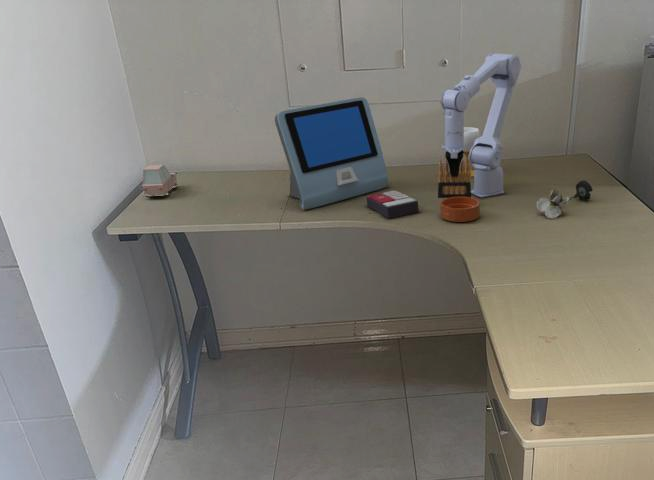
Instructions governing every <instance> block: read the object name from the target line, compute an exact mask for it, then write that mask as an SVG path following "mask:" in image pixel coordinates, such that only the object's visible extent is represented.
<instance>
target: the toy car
mask: <svg viewBox="0 0 654 480" xmlns="http://www.w3.org/2000/svg"><path fill="white" fill-rule="evenodd" d="M177 181H178V180H177V173H176V172H170V171H169V170H168V169H167V167H166V166H165V165H164V164H149V165H146V167H144V168H143V169H142V185H141V187H142V190H143V192H144V195H145V194H148V195H165V194H166V193H168V192H169V191H170V189H171V188H172V187H173V186H176V185H177V186H176V187H175V188H173V189H172V190H177V189H178V182H177ZM170 195H171V191H170V193H169V194H168V195H166V196H165V197H170Z"/></svg>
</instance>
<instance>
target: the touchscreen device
mask: <svg viewBox="0 0 654 480" xmlns="http://www.w3.org/2000/svg"><path fill="white" fill-rule="evenodd" d="M274 123H275V126H276V130H277V132H278V133H277V134H278V136H279V139H280V143H281V145H282V149H283V153H284V155H285V159H286V162H287V165H288V169H289V172H290V174H289V177H290V178H289V196H290V197H292V198H296V199H297V200H299V204H300V207H301V210H302V211H308V210H312V209H315V208H318V207H319V208H320V207H323V206H327V205H331V204H334V203H337V202H341V201H344V200H347V199H351V198H356V197H359V196H362V195H366V194H368V193H372V192H373V193H374V192H377V191H379V190H383V189H385V188H387V187H388V186H389V175H388V171H387V170H388V169H387V166H386V163H385V158H384V154H383V150H382V146H381V143H380V140H379V135H378V133H377V129H376V125H375V122H374V119H373V115H372V111H371V108H370V105H369V101H368V100H367V99H366V97H355V98H349V99H342V100H338V101H331V102H326V103H321V104H315V105H309V106H304V107H297V108H292V109H285V110H282V111H280V112H278V113H277V114H276V115H275V116H274Z"/></svg>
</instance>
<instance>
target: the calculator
mask: <svg viewBox="0 0 654 480" xmlns="http://www.w3.org/2000/svg"><path fill="white" fill-rule="evenodd" d="M366 206H367V207H368V208H370V209H372V210H374V211H376V212H378V213H380V214H381V216H383V217H384V218H386V219H393V218H397V217H402V216H406V215H412V214H415V213H419V201H418V200H417V199H415V198H412V197H410V196H409V195H407V194H404V193H402V192H400V191H398V190H390V191H385V192H382V193H376V194H370V195H368V196H367V197H366Z"/></svg>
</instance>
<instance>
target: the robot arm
mask: <svg viewBox="0 0 654 480" xmlns="http://www.w3.org/2000/svg"><path fill="white" fill-rule="evenodd" d="M520 59H521V58H520V57H519V55H517V54H516V53H515V54H510V53H509V54H508V53H496V52H490V53H489V54H488V55H487V56H485V59H484V63H483V64H482V65H481V66H480V67H479V69H478V70H477V71H476V72H475V73H474V74H472V75H470V74H469V75H464V77H463V79H462V80H461V81H459V82H458V83H457V84H456V85H454V86H453V88H452V89H447V90H445V91H444V92H443V93H442V95H441V100H440V106H441V108H442V112H443V116H444V145H441V150H445V155H444V157H445V160H447V163H448V170H449V173H450V174H451V177H454V178H455V177H458V173H459V171H460V168H461V163H462V160H463V158H464V154H463V152H464V151H463V149H464V127H465V121H464V120H465V110H467V108H468V105H469V103H470V102H471V99H472V98H473V97H474V96H476V95H477V94H478V93H479V92H480V90H481V85H482V84H484V83H485V82H486V81H487V80H488V79H490V80H491V81H492V83H493V84H494V85H495V86H496V89H495V93H494V96H493V99H492V103H491V106H490V109H489V113H488V116H487V119H486V123H485V126H484V129H483V132H482V135H480V136H479V138H478V139H476V140H475V142H474V145H473V147H472V148H471V150H470V153H469V155H468V160H469V161H470V164H471V165H472V167H473V168H474V169H473V170H474V177H473V189H471V195H474V196H477V197H479V198H480V199H481V198H488V197H492V196H497V195H502V194H505V191H504V171H503V168H502V167H501V166H500V165H501V163H502V159H503V151H504V146H503V144H502V143H501V142H500V140H499V138H500V135H501V132H502V128H503V125H504V121H505V120H506V116H507V111H508V109H509V105H510V102H511V99H512V96H513V92H514V88H515V86H516V85H517V82H518V78H519V75H520V72H521V68H522V64H521V60H520Z"/></svg>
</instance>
